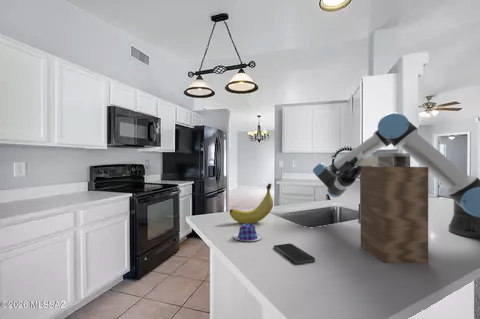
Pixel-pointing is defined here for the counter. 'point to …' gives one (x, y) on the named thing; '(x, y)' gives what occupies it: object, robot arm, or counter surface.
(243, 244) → the counter surface
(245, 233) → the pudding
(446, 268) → the counter surface
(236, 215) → the banana
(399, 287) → the counter surface
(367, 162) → the cream teal square bar
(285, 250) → the phone
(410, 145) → the robot arm
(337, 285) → the counter surface
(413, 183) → the stand
